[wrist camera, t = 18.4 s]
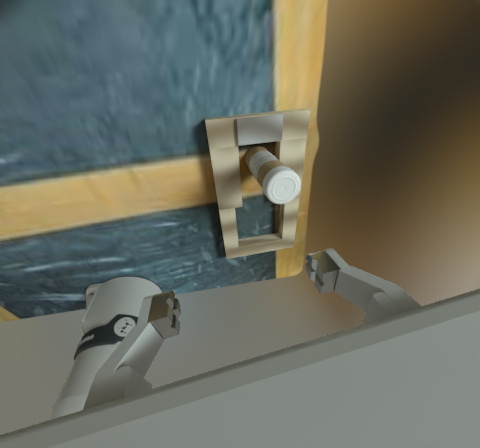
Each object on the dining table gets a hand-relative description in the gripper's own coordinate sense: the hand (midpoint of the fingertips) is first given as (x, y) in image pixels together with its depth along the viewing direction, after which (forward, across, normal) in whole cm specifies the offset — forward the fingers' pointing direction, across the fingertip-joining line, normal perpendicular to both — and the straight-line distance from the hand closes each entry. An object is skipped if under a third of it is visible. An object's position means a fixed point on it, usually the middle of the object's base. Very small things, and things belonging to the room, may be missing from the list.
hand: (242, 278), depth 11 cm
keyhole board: (+26, -8, +8) cm, 29 cm away
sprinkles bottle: (+26, -8, +1) cm, 28 cm away
